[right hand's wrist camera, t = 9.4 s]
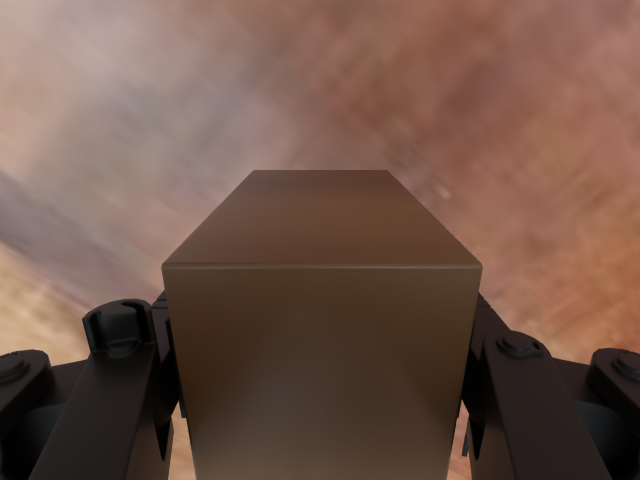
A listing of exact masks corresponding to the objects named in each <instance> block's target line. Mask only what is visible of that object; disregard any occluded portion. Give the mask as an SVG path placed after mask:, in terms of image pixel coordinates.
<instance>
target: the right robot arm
mask: <svg viewBox="0 0 640 480" xmlns="http://www.w3.org/2000/svg"><path fill="white" fill-rule="evenodd" d="M82 321H83V325H84V329H85V332H86V336H87V340H88V344H89V347H90V351H91V353H90V355H89V357H88V359H86V360H82V361H78V362H72V363H67V364H62V365H57V366H52V367H51V364H50V360H49V357H48V355H47V354H46V353H44V352H43V351H40V350H23V351H15V352H11V353H10V354H9V353H8V354H5V355H2V356H0V480H168V475H169V467H170V459H171V451H172V442H173V434H174V429H173V423H172V417H171V415H172V413H173V411H174V409H175V407H176V405H177V403H178V401H179V405H180V411H181V416H182V418H186V413H185V407H184V401H183V395H182V389H181V383H180V377H179V371H178V365H177V359H176V353H175V347H174V341H173V335H172V329H171V323H170V317H169V311H168V305H167V299H166V293H165V290H164V291H163V292H162V293H161V295H160V296H159V297H158V298H157V301H155V302H154V303H153V304H152V306H151V305H150V304H149V303H148V302H146V301H144V300H139V299H123V300H118V301H113V302H109V303H107V304H104V305H101V306H98V307H97V308H95V309H93V310H92V311H90V312H88V313H87V314H86V315H85V316H84V317H83V318H82ZM461 400H463V402H464V405H465V407H466V409H467V411H468V413H469V417H468V423H467V428H466V434H465V439H464V444H463V450H462V456H466V457H467V453H468V450H469V458H470V466H471V474H472V480H640V354H638V353H635V352H630V351H629V350H624V349H615V348H604V349H598V350H597V351H595V352H594V353H593V355H592V358H591V361H590V365H586V364H581V363H576V362H571V361H566V360H561V359H557V358H553V357H552V356H551V354H550V352H549V351H548V350H547V348H546V347H545V346H544V345H543V344H542V343H541V342H539V341H538V340H536V339H535V338H533V337H531V336H528V335H526V334H524V333H521V332H517V331H512V330H510V329H509V328H508V327H507V325H506V324H505V323H504V322H503V321H502V319H501V318H500V317H499V316H498V315H497V313H496V312H495V311H494V310H493V309H492V308H490V305H489V304H488V303H487V301H486V300H484V298H483V297H482V295H481V294H480V293H479V292H478V297H477V303H476V309H475V315H474V321H473V327H472V333H471V339H470V344H469V350H468V356H467V362H466V368H465V374H464V380H463V386H462V392H461V397H460V403H459V409H458V415H457V418H459V412H460V406H461Z"/></svg>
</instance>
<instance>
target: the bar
mask: <svg viewBox="0 0 640 480" xmlns="http://www.w3.org/2000/svg"><path fill="white" fill-rule="evenodd" d="M161 269H162V275H163V281H164V287H165V293H166V299H167V305H168V311H169V317H170V323H171V329H172V335H173V341H174V347H175V353H176V359H177V365H178V371H179V377H180V383H181V389H182V395H183V401H184V407H185V413H186V419H187V426H188V432H189V438H190V444H191V450H192V456H193V462H194V468H195V474H196V480H447V474H448V468H449V462H450V456H451V450H452V444H453V439H454V433H455V427H456V421H457V415H458V409H459V403H460V397H461V392H462V386H463V380H464V374H465V368H466V362H467V356H468V350H469V344H470V339H471V333H472V327H473V321H474V315H475V309H476V303H477V297H478V292H479V286H480V280H481V274H482V264H481V263H480V262H479V261H478V260H477V259H476V258H475V257H474V256H473V255H472V254H471V253H470V252H469V251H468V250H467V249H466V248H465V247H464V246H463V245H462V244H461V243H460V242H459V241H458V240H457V239H456V238H455V237H454V236H453V235H452V234H451V233H450V232H449V231H448V230H447V229H446V228H445V227H444V226H443V225H442V224H441V223H440V222H439V221H438V220H437V219H436V218H435V217H434V216H433V215H432V214H431V213H430V212H429V211H428V210H427V209H426V208H425V207H424V206H423V205H422V204H421V203H420V202H419V201H418V200H417V199H416V198H415V197H414V196H413V195H412V194H411V193H410V192H409V191H408V190H407V189H406V188H405V187H404V186H403V185H402V184H401V183H400V182H399V181H398V180H397V179H396V178H395V177H394V176H393V175H392V174H391V173H390V172H389V171H387V170H254V171H252V172H251V173H250V174H249V176H248V177H247V178H246V179H245V180H244V181H243V182H242V183H241V184H240V185H239V186H238V187H237V188H236V189H235V190H234V191H233V192H232V193H231V194H230V195H229V196H228V197H227V198H226V199H225V200H224V201H223V202H222V203H221V204H220V205H219V206H218V207H217V208H216V209H215V210H214V211H213V212H212V213H211V214H210V215H209V216H208V218H207V219H206V220H205V221H204V222H203V223H202V224H201V225H200V226H199V227H198V228H197V229H196V230H195V231H194V232H193V233H192V234H191V235H190V236H189V237H188V238H187V239H186V240H185V241H184V242H183V243H182V244H181V245H180V246H179V247H178V248H177V249H176V250H175V251H174V252H173V253H172V254H171V255H170V256H169V257H168V258H167V260H166V261H165V262H164V263H163V264H162V267H161Z"/></svg>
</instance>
